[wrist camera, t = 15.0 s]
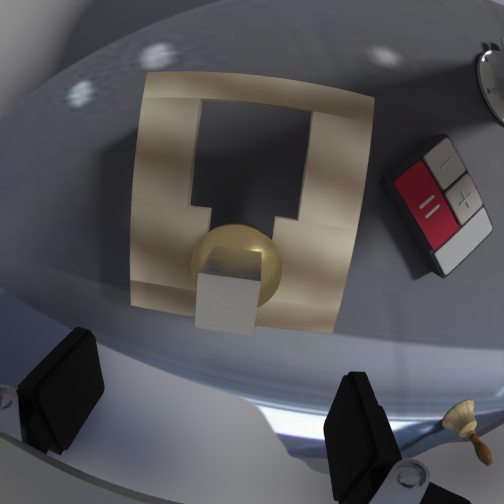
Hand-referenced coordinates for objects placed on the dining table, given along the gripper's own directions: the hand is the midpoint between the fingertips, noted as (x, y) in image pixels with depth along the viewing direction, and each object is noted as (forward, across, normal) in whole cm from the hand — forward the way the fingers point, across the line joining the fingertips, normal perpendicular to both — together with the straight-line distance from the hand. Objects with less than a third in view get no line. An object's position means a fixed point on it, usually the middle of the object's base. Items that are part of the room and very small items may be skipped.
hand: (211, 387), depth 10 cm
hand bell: (+27, -47, +32) cm, 63 cm away
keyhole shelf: (+26, +1, -4) cm, 27 cm away
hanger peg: (+23, +1, 0) cm, 23 cm away
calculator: (+27, -23, -7) cm, 37 cm away
